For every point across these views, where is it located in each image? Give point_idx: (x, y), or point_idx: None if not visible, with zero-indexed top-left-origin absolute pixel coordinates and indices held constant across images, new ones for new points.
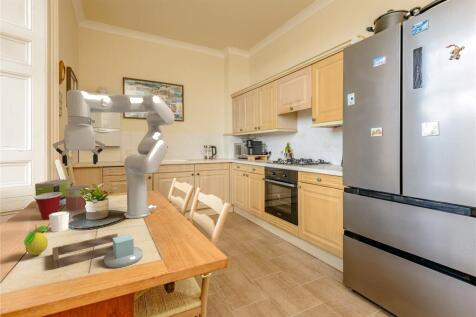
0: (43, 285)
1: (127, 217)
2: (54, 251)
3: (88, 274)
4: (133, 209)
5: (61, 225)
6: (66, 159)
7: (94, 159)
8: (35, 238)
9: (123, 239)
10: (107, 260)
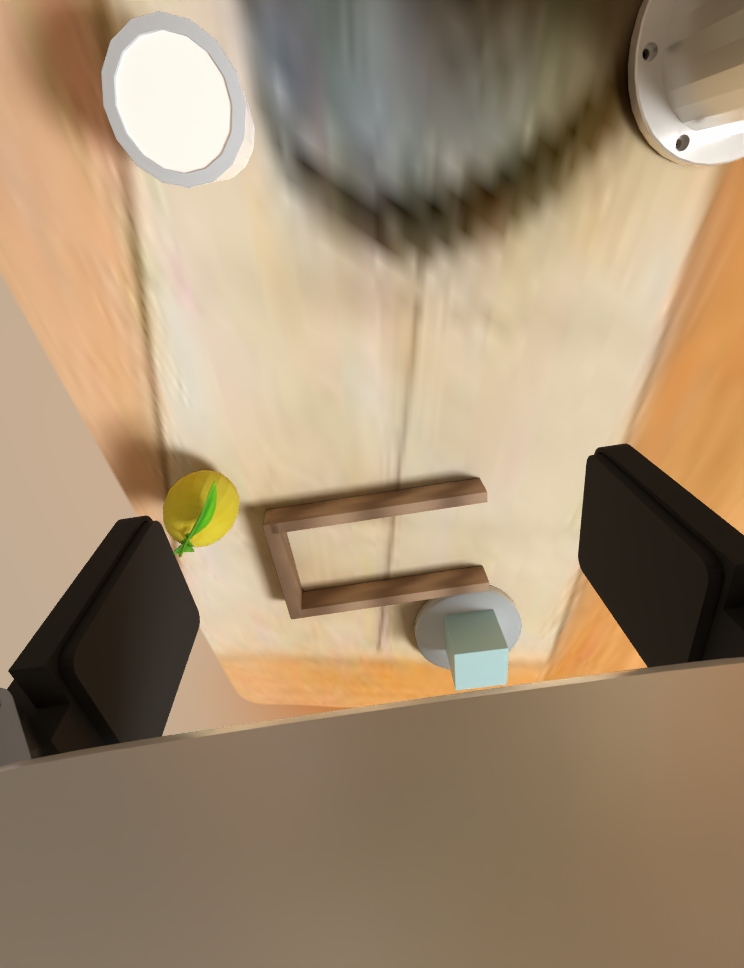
0: (287, 659)
1: (635, 114)
2: (277, 558)
3: (376, 656)
4: (715, 114)
5: (221, 180)
6: (161, 712)
7: (625, 627)
8: (199, 546)
9: (480, 676)
10: (423, 648)
